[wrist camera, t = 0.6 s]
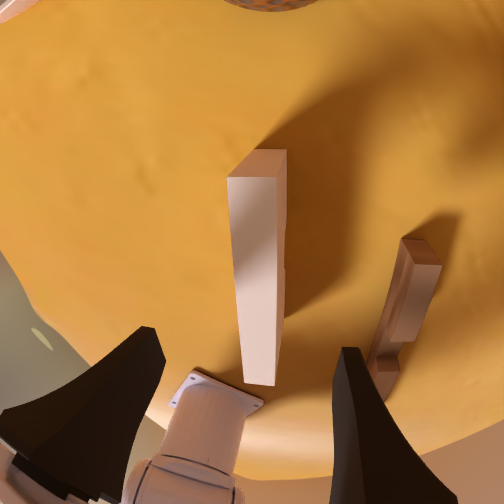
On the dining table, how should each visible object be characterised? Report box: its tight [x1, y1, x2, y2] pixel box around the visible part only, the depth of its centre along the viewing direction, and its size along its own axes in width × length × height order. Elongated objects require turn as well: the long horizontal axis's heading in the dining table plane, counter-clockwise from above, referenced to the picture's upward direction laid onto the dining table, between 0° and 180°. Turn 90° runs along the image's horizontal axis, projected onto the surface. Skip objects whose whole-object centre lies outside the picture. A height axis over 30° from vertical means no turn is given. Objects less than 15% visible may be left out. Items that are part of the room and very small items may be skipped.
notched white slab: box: [227, 149, 287, 386], centre depth 16 cm, size 12×2×6 cm, turn 2°
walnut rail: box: [366, 239, 443, 402], centre depth 20 cm, size 20×2×3 cm, turn 2°
